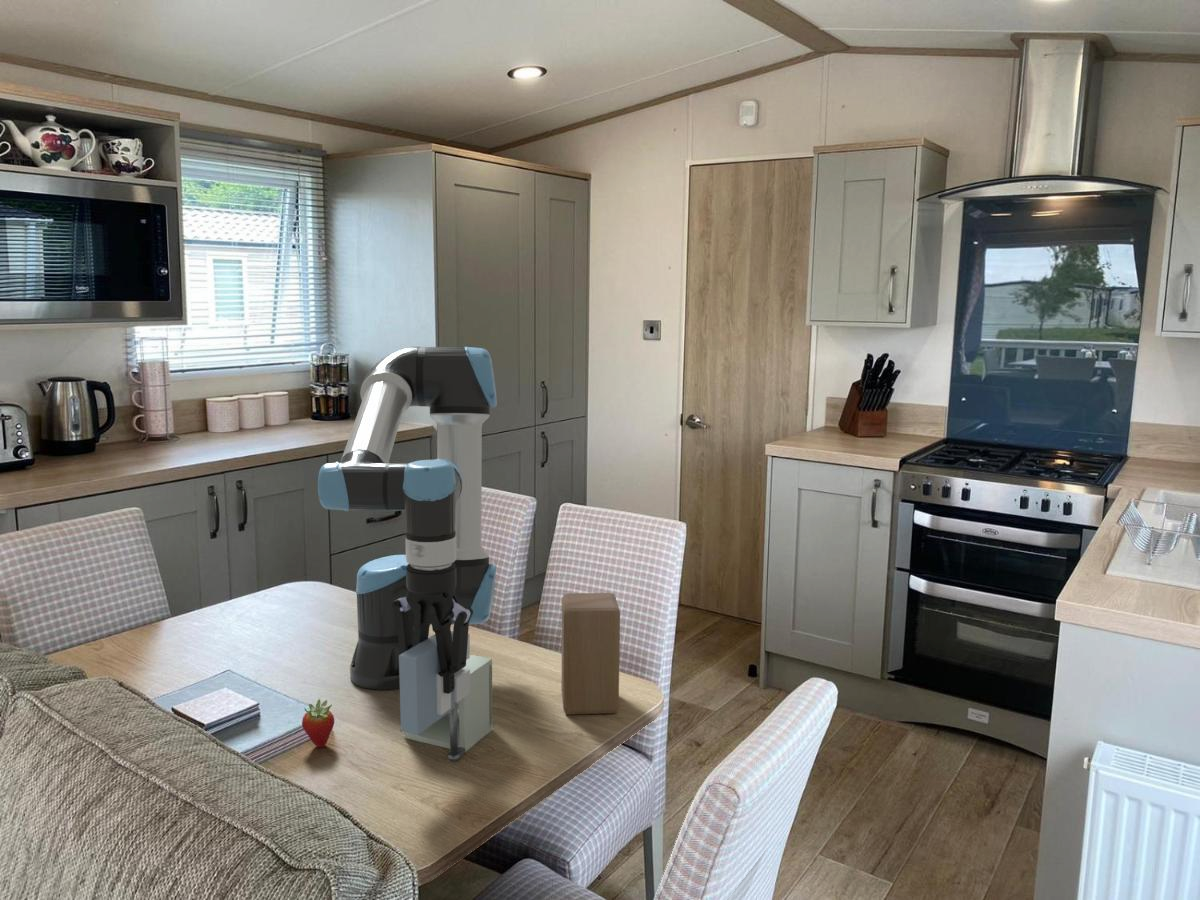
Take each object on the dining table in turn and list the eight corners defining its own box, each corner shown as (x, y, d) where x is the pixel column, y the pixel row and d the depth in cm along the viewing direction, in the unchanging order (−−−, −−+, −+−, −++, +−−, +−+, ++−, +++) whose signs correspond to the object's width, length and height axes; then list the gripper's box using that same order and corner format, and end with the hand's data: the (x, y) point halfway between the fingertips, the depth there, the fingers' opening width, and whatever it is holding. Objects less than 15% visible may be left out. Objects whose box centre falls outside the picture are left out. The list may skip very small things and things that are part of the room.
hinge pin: (445, 760, 152) (444, 690, 150) (457, 750, 155) (456, 682, 153) (456, 762, 151) (454, 692, 149) (467, 753, 154) (466, 684, 152)
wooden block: (561, 692, 177) (561, 591, 174) (613, 691, 178) (615, 591, 175) (563, 716, 168) (564, 610, 164) (619, 715, 168) (620, 609, 165)
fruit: (305, 756, 152) (303, 710, 151) (301, 742, 157) (299, 697, 156) (337, 750, 154) (335, 705, 153) (332, 736, 159) (331, 692, 158)
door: (398, 730, 140) (396, 654, 138) (449, 694, 153) (448, 624, 151) (420, 735, 139) (418, 659, 137) (470, 698, 151) (469, 628, 149)
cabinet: (404, 737, 159) (402, 665, 157) (434, 716, 167) (432, 647, 165) (464, 752, 154) (464, 678, 152) (492, 729, 162) (492, 658, 160)
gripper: (372, 562, 141) (376, 708, 145) (463, 577, 135) (465, 729, 139) (401, 550, 148) (405, 690, 152) (490, 563, 141) (491, 709, 145)
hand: (433, 708), depth 145 cm, fingers closed on door, 3 cm apart
